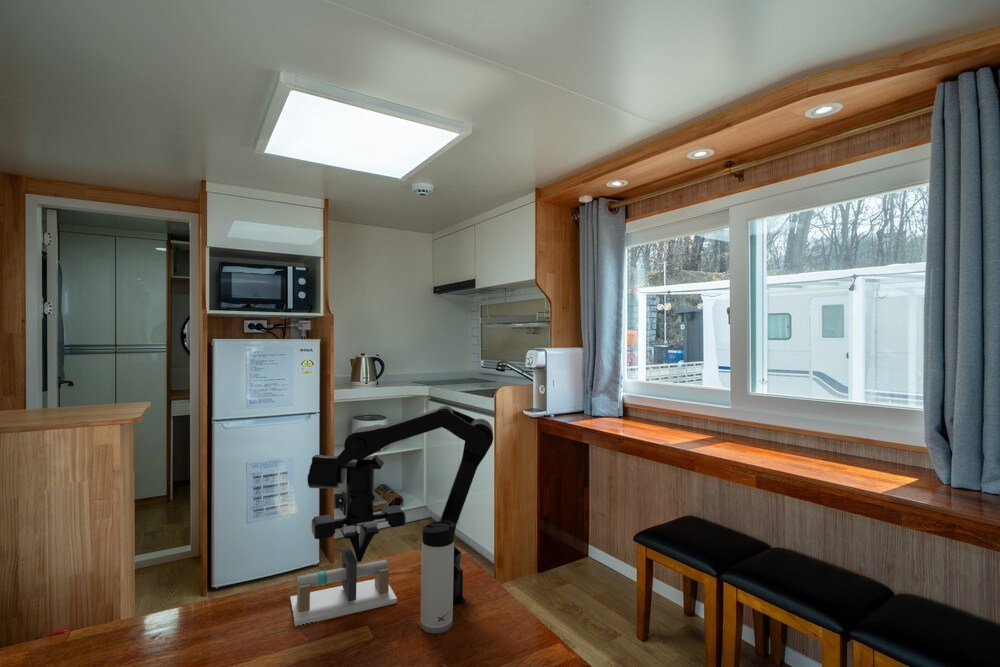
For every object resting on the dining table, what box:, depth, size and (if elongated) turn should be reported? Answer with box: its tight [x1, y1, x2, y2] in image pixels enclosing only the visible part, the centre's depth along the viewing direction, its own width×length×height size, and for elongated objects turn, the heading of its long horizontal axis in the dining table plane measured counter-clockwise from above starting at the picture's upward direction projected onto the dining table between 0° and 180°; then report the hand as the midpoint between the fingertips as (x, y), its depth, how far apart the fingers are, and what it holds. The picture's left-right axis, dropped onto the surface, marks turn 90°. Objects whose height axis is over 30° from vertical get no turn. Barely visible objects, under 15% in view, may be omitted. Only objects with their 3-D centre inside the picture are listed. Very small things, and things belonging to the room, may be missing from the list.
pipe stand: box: [289, 559, 398, 627], centre depth 108 cm, size 20×10×7 cm, turn 117°
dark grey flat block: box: [341, 545, 358, 602], centre depth 109 cm, size 2×8×8 cm, turn 27°
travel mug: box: [419, 520, 457, 634], centre depth 101 cm, size 6×7×20 cm
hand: (358, 561), depth 110 cm, fingers closed
